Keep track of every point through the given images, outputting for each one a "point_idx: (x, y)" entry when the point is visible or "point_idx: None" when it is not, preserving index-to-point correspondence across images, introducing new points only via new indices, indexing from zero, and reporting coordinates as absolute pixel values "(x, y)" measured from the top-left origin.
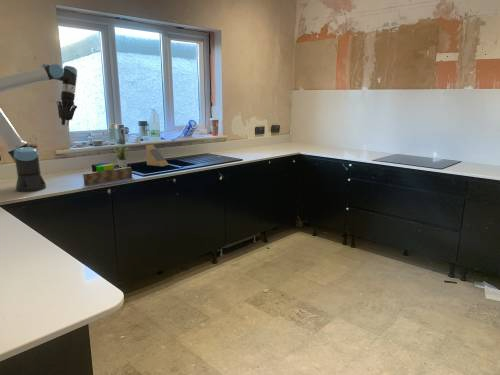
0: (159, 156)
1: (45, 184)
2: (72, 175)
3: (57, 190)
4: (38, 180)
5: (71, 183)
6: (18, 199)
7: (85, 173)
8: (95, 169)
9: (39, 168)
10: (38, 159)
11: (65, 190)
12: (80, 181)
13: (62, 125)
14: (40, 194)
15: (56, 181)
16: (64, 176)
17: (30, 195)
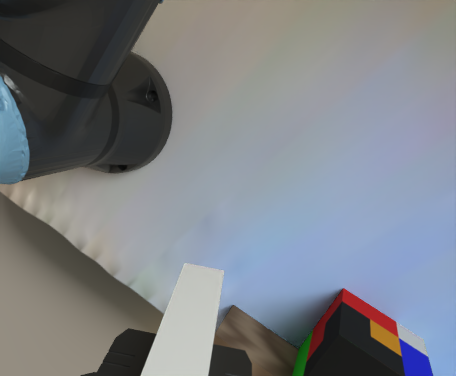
0: None
1: (143, 163)
2: (439, 81)
3: (131, 246)
4: (92, 168)
5: (247, 223)
6: (7, 195)
7: (224, 342)
8: (311, 359)
9: (79, 164)
10: (45, 168)
11: (140, 278)
12: (295, 241)
13: (167, 312)
14: (71, 222)
15: (264, 112)
16: (397, 51)
17: (51, 196)
